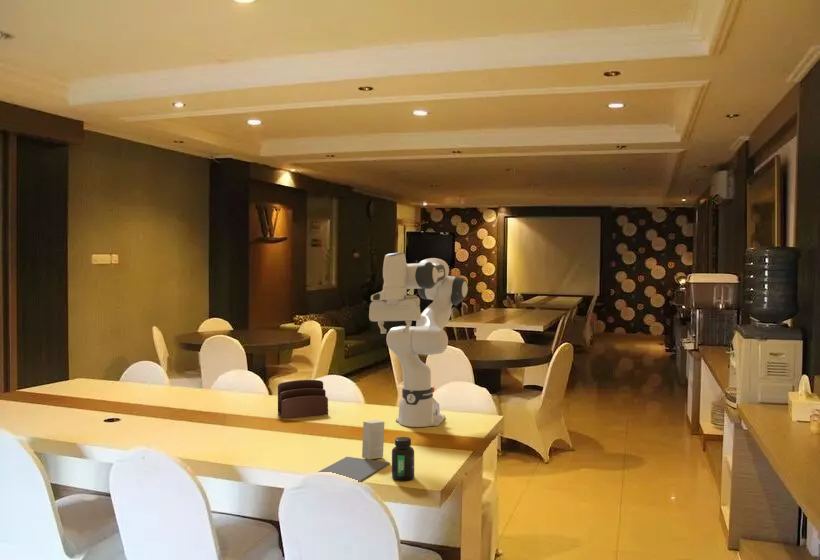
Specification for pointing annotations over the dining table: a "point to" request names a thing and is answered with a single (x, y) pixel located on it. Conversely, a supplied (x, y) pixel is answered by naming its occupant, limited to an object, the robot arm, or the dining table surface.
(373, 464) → the mat
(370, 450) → the skincare box
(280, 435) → the dining table surface
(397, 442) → the supplement bottle
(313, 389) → the letter holder
